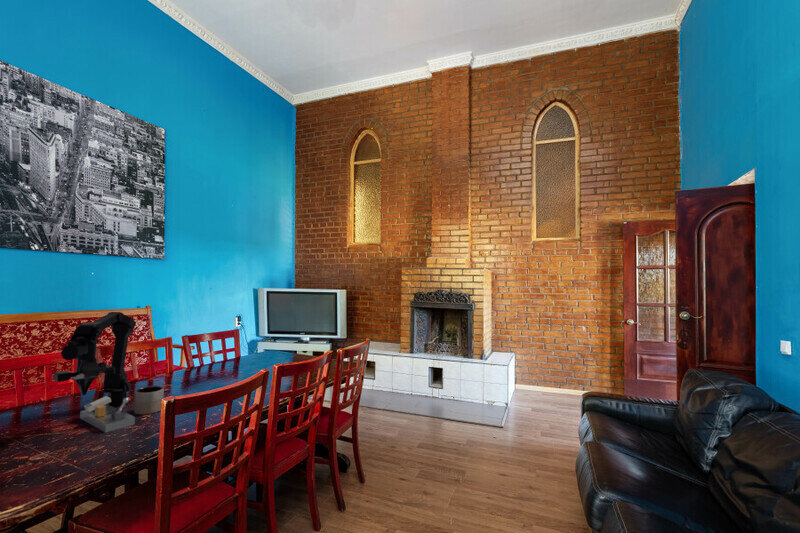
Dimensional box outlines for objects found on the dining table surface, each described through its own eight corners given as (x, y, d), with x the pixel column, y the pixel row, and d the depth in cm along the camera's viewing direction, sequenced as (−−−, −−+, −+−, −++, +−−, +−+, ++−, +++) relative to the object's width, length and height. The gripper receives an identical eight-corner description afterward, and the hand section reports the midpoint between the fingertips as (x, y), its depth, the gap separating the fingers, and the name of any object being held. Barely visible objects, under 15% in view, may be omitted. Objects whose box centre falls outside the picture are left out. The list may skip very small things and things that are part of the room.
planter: (168, 407, 176) (169, 386, 176) (150, 416, 165) (152, 393, 165) (146, 406, 177) (147, 385, 177) (127, 414, 166) (128, 392, 166)
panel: (108, 411, 168) (108, 399, 168) (134, 424, 155) (135, 410, 155) (80, 418, 160) (80, 405, 160) (105, 432, 147) (106, 418, 147)
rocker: (107, 399, 166) (106, 395, 166) (111, 401, 164) (110, 397, 164) (85, 409, 160) (84, 405, 159) (89, 411, 158) (88, 407, 157)
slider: (101, 413, 157) (102, 404, 157) (105, 415, 156) (105, 406, 156) (94, 415, 155) (95, 406, 155) (98, 417, 154) (98, 408, 154)
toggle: (117, 416, 154) (128, 398, 157) (119, 417, 153) (130, 398, 156) (112, 415, 153) (123, 396, 156) (114, 416, 151) (126, 397, 155)
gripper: (64, 361, 143) (61, 404, 142) (122, 354, 158) (119, 393, 157) (53, 357, 149) (50, 398, 148) (110, 351, 164) (108, 388, 163)
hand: (83, 394), depth 154 cm, fingers closed
